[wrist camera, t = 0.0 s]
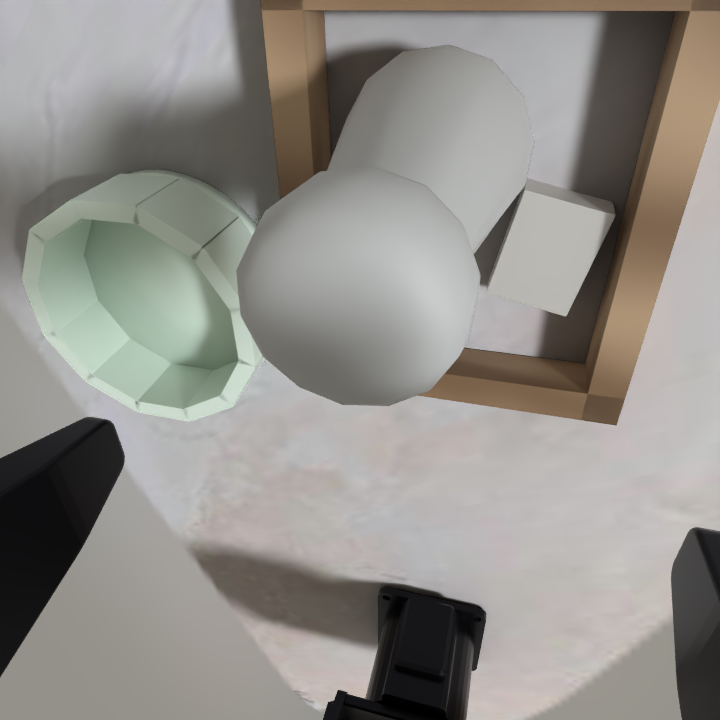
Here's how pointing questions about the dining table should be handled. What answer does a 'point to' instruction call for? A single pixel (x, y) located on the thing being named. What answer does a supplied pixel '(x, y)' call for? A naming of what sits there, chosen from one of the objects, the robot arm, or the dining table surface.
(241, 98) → the dining table surface
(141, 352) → the bowl
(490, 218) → the salt shaker
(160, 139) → the dining table surface
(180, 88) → the dining table surface
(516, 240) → the off-white rectangular block
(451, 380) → the tray
